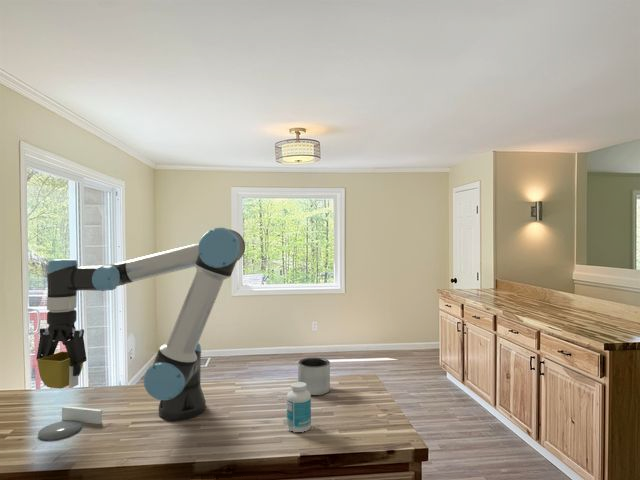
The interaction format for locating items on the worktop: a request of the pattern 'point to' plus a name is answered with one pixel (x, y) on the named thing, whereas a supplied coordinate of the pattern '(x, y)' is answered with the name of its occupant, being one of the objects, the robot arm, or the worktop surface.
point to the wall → (82, 414)
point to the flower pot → (55, 370)
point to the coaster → (60, 430)
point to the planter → (315, 375)
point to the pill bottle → (298, 408)
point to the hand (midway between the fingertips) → (61, 385)
